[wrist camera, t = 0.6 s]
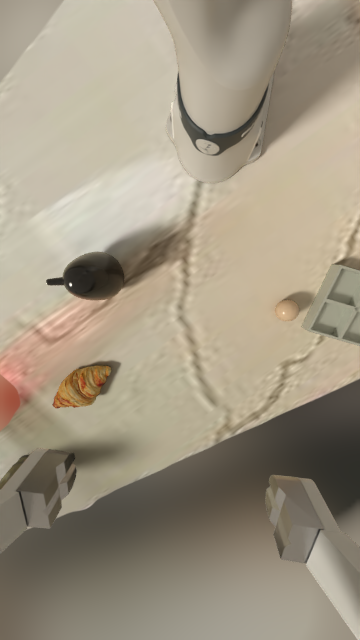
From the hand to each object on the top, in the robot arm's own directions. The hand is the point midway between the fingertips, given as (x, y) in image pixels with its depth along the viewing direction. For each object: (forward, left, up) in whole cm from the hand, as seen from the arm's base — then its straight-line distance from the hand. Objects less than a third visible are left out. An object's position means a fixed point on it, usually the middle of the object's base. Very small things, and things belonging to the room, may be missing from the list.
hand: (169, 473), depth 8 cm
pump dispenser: (+1, -20, -43) cm, 47 cm away
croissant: (+33, -21, -43) cm, 58 cm away
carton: (-8, +35, -42) cm, 56 cm away
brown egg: (-3, +22, -42) cm, 48 cm away
